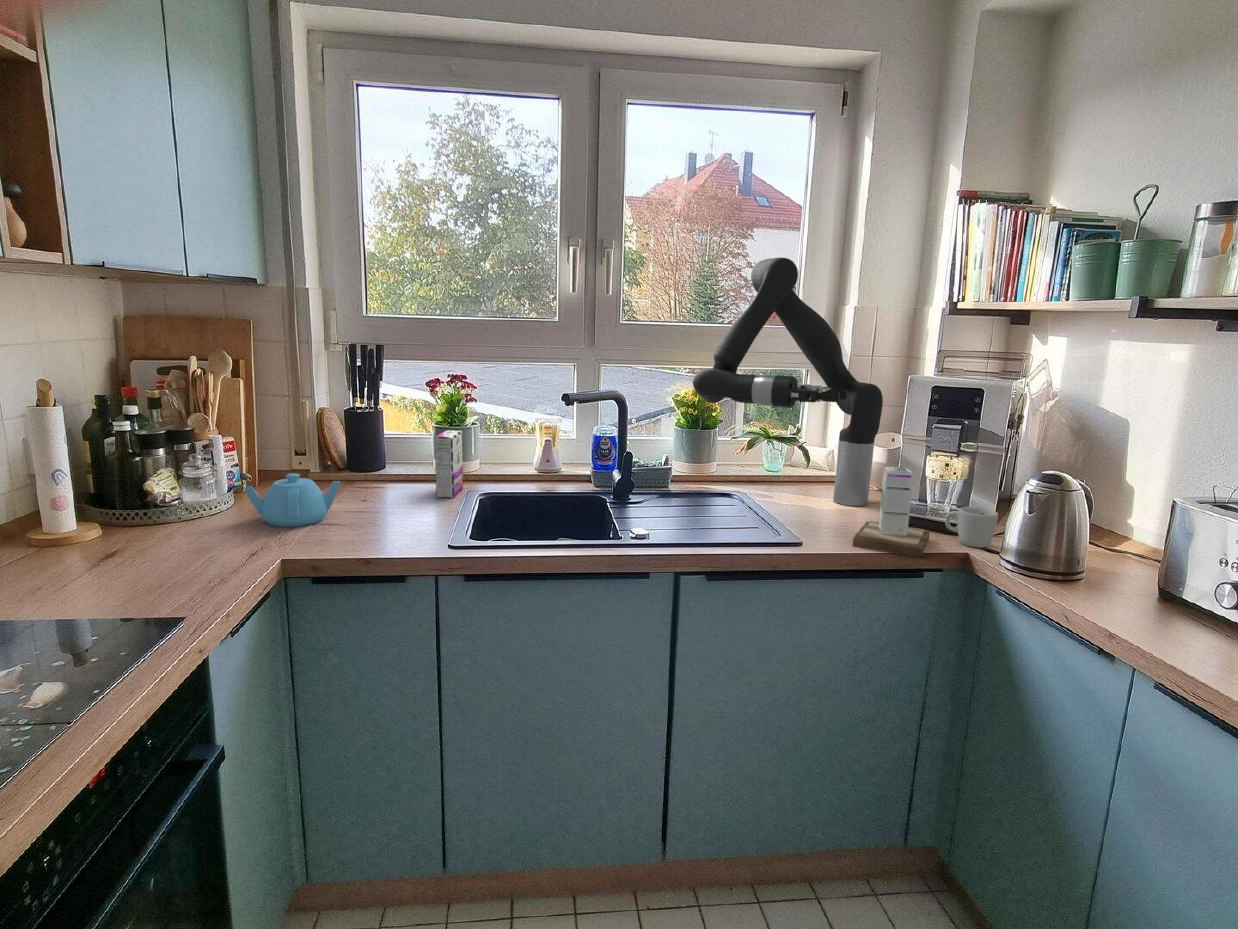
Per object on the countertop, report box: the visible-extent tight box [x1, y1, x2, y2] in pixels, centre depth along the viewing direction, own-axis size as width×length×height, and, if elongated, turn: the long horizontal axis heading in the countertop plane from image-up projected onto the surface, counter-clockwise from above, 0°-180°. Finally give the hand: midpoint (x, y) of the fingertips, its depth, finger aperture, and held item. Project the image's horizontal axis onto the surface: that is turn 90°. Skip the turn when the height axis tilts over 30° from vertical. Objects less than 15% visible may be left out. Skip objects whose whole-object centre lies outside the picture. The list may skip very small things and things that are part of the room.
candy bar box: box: [434, 429, 464, 499], centre depth 191 cm, size 11×5×16 cm, turn 179°
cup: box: [944, 506, 999, 549], centre depth 161 cm, size 11×8×8 cm
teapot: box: [243, 472, 341, 528], centre depth 161 cm, size 15×15×11 cm
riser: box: [852, 520, 931, 559], centre depth 160 cm, size 16×14×2 cm
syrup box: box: [878, 466, 914, 536], centre depth 159 cm, size 6×6×14 cm
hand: (843, 396), depth 163 cm, fingers open, 8 cm apart
